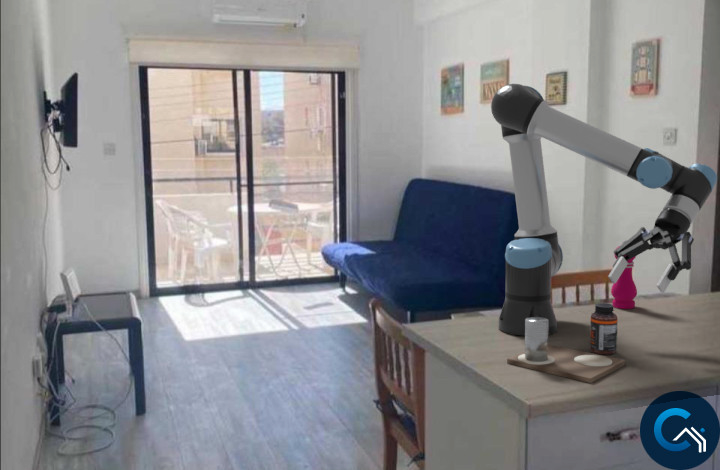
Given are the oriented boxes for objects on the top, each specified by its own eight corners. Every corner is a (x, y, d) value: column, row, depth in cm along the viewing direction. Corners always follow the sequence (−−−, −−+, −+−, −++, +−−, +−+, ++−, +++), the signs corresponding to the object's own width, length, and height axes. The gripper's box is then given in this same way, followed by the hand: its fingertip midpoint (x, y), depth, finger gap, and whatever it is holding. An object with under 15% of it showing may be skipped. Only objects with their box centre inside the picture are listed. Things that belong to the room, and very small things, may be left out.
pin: (520, 359, 157) (520, 320, 155) (532, 354, 160) (532, 316, 159) (540, 364, 153) (540, 324, 152) (552, 358, 157) (552, 319, 155)
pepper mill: (638, 309, 204) (640, 241, 201) (612, 309, 205) (614, 241, 202) (634, 304, 211) (636, 238, 208) (609, 303, 212) (610, 238, 209)
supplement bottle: (586, 348, 167) (587, 301, 166) (611, 347, 167) (613, 301, 166) (594, 355, 162) (595, 307, 160) (620, 355, 161) (621, 307, 160)
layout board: (507, 362, 157) (507, 357, 157) (544, 347, 169) (544, 342, 168) (590, 383, 143) (590, 377, 143) (624, 364, 155) (625, 359, 154)
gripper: (730, 232, 165) (688, 303, 159) (640, 223, 186) (600, 285, 180) (718, 211, 161) (675, 283, 156) (627, 204, 183) (586, 267, 177)
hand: (634, 284), depth 168 cm, fingers open, 13 cm apart
